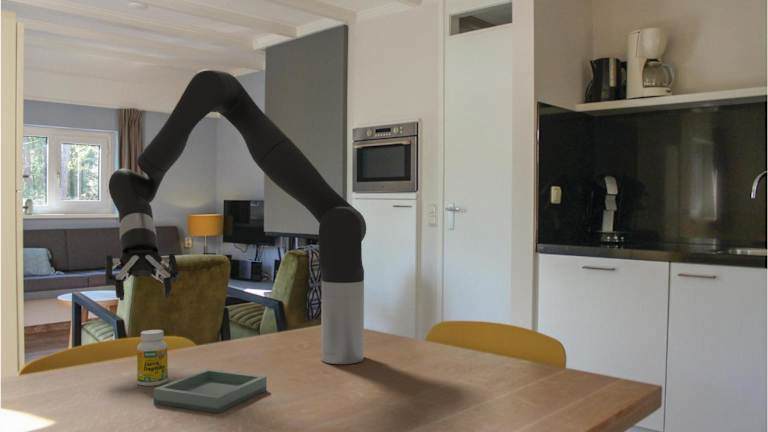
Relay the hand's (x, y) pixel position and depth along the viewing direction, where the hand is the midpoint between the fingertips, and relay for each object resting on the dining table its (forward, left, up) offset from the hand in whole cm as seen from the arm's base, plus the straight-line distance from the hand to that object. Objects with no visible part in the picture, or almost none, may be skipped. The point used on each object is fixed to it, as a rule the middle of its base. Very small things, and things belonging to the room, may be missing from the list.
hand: (144, 296), depth 127 cm
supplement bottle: (+8, +9, -15) cm, 19 cm away
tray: (+11, +25, -15) cm, 31 cm away
